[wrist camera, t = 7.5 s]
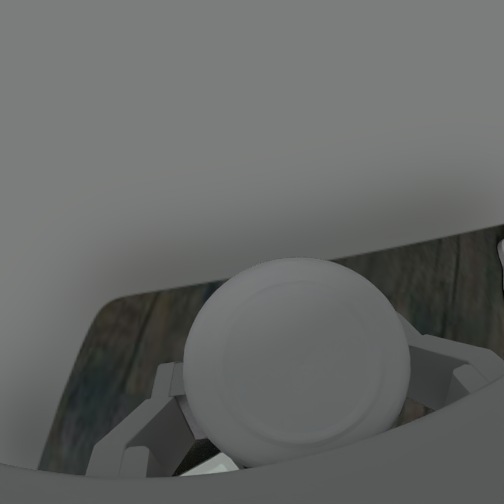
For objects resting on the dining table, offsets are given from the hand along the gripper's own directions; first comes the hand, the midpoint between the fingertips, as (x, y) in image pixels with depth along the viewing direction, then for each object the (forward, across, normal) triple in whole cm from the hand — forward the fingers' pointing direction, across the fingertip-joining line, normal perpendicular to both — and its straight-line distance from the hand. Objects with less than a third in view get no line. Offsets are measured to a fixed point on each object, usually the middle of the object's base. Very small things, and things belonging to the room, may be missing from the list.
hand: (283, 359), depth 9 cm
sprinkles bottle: (+6, 0, +8) cm, 10 cm away
